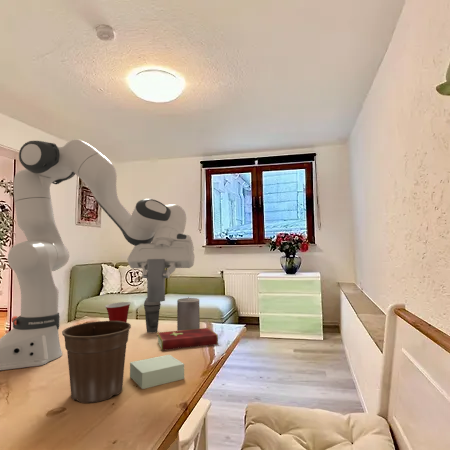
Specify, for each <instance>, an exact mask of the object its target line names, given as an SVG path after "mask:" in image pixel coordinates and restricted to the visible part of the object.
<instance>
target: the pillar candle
mask: <svg viewBox="0 0 450 450" xmlns="http://www.w3.org/2000/svg"><path fill="white" fill-rule="evenodd" d="M176 304H177V312H176V313H177V316H176V317H177V318H176V319H177V322H176V323H177V325H176V328H177V330H176V331H179V330H190V329H201V326H200V324H201V323H200V299H199V298H195V297H190V296H187V297H185V298H180V299H179V298H178V299H177V303H176Z"/></svg>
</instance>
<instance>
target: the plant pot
mask: <svg viewBox="0 0 450 450" xmlns="http://www.w3.org/2000/svg"><path fill="white" fill-rule="evenodd" d="M131 327H132V325H131V323H129V322H128V321H127V322H123V321H109V320H102V321H101V320H99V321H90V322H84V323H80V324H79V323H78V324H76V325H71V326H69V327H66V328H64V329H63V330H62V336H63V338H64V344H65V345H64V346H65V347H64V348H65V349H66V353H67V362H68V363H67V365H68V374H69V386H70V388H69V389H70V397H71V399H72V400H73V401H76V400H77V402H79V403H86V404H90V403H91V404H93V403H100V402H102V401H103V402H104V401H106V400H107V401H108V400H109V399H111V398H112V397H113V396H118V395H119V394H120V393H121V392H122V391H123V388H124V373H125V361H126V351H127V343H128V342H129V332H130V329H131Z"/></svg>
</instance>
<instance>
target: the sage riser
mask: <svg viewBox="0 0 450 450" xmlns="http://www.w3.org/2000/svg"><path fill="white" fill-rule="evenodd" d="M129 378H130V379H132V381H133V382H134V383H136V385H138V387H139V388H140V389H142V390H144V389H149V388H153V387H156V386H160V385H165V384H169V383H173V382H176V381H181V380H184V379H185V363H183V362H182V361H181V360H179V359H177V358H175V357H174V356H173V355H171V354H165V355H161V356H156V357H155V356H154V357H150V358H145V359H140V360H135V361H130V363H129Z"/></svg>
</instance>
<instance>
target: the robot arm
mask: <svg viewBox="0 0 450 450" xmlns="http://www.w3.org/2000/svg"><path fill="white" fill-rule="evenodd" d="M18 159H19V162H20V164H21V166H22V167H24V168H25V169H21V170H20V171H18V172H17V173H15V175H14V178H13V179H14V180H13V202H14V207H15V209H14V210H15V214H16V221H17V222H16V223H17V225H18V227H19V229H20V230H21V231H23V234H24V236H25V238H26V240H25V241H21V242H19V243H16V244H14V245H13V246H12V247H11V248H10V250H9V251H8V255H7V264H8V265H9V267H10V269H12V271H14V273H15V275H16V277H17V282H18V285H19V289H20V315H19V316H17V315H13V316H12V317H11V323H12V329H11V330H10V331H8V332H7V333H5V334H4V335H3V336H2V337H0V371H4V370H6V371H7V370H12V369H13V370H14V369H21V368H30V367H38V366H43V365H45V364H47V363H49V362H51V361H54V360H57V359H58V358H60V357H61V356H63V351H62V348H61V347H62V346H61V343H60V336H59V335H60V334H59V329H60V325H61V321H60V320H61V319H60V318H61V317H60V312H59V289H58V287H57V286H56V284H55V281H54V277H53V272H56V271H59V270H60V269H61V268H63V267H64V266H66V264H67V263H68V262H69V259H70V251H69V249H68V248H67V246H66V244H65V243H64V241H63V240H62V237H61V234H60V233H59V230H58V226H57V224H56V220H55V214H54V207H53V202H52V197H51V185H52V184H54V185H59V184H60V183H62V182H65V181H67V180H70V179H72V178H73V177H75V175H76V176H77V177H78V178H79V179H80V180H81V181H82V183H84V184H85V185H86V186H87V188H88V189H89V190H90V192H91V194H92V195H93V197H94V199H95V201H96V202H97V204H98V205H99V207H100V208H101V209H102V210H103V211H104V213H105V214H107V216H108V217H109V218H110V219H111V220H112V221H113V223H114V224H115V226H117V227H118V228H119V230H120V231H121V233H122V235H123V237H124V239H125V240H126V241H127V242H128V243H129V244H131V246H132V245H133V249H132V250H131V252H130V253H129V255H128V257H127V263H128V265H129V267H130V268H131V269H142V273H141V276H142V279H147V259H165V270H164V273H163V276H164V278H165V279H170V277H171V274H173V273H174V272H175V271H176V269H190V268H192V267H193V266H194V264H195V253H194V251H195V249H194V248H195V247H194V242H193V239H192V237H191V236H190V235H189V234H186V233H184V232H185V230H186V224H187V214H186V211H185V210H184V209H183V207H182V206H180V205H178V204H175V203H173V204H164V203H162V202H160V201H159V200H156V199H153V198H142V199H140V200H138V201H137V202H136V203H135V206H134V209H133V211H132V213H130V212H129V211H128V210H127V208H126V207H125V206H124V205H123V204H122V203H121V201H120V199H119V197H118V193H117V191H118V189H117V176H118V175H117V170H116V168H115V166H114V164H113V163H112V162H111V160H109V158H107V157H106V156H105V155H104V154H103V153H102V152H100V151H99V150H98V149H96V148H95V147H94V146H92V145H91V144H89V143H87V142H86V141H84V140H82V139H71V140H70V141H68V142H67V143H65V144H64V145H63V146H58V145H57V144H56V143H54V142H48V141H42V140H29V141H27V142H25V143H24V144H23V145H22V146H21V147H20V149H19V152H18Z"/></svg>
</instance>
